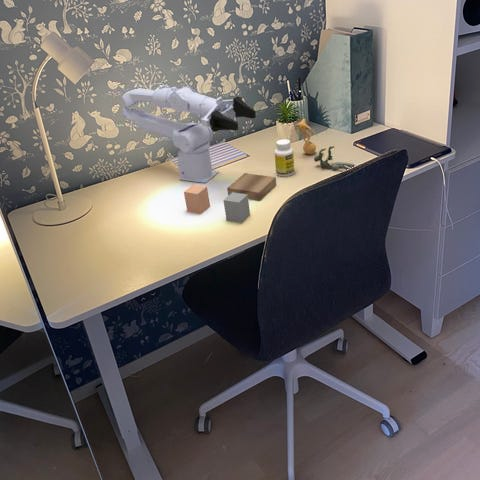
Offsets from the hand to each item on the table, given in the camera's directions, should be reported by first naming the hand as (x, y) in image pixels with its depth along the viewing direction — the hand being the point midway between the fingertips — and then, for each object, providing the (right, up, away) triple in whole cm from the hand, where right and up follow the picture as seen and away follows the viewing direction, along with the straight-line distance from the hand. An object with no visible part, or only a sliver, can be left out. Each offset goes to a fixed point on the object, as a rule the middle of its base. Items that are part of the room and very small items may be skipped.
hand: (246, 120), depth 143 cm
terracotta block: (-13, -23, +4) cm, 27 cm away
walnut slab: (+2, -18, +10) cm, 21 cm away
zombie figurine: (+27, -11, +15) cm, 33 cm away
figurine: (+20, -5, +27) cm, 33 cm away
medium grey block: (-2, -26, -3) cm, 26 cm away
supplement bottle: (+12, -12, +17) cm, 24 cm away
